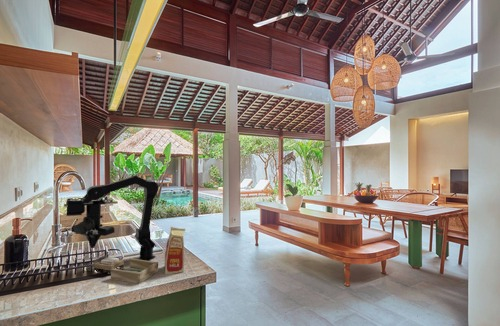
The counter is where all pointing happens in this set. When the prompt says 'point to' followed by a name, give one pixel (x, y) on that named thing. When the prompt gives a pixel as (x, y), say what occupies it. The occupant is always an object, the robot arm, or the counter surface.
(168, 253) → the milk carton
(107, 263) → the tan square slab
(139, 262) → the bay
